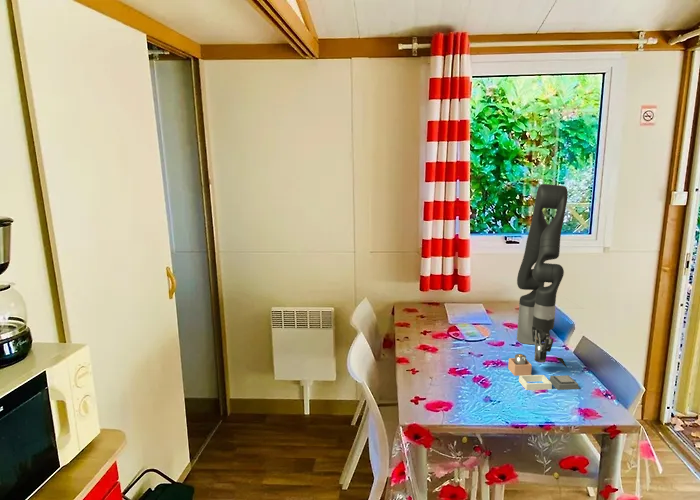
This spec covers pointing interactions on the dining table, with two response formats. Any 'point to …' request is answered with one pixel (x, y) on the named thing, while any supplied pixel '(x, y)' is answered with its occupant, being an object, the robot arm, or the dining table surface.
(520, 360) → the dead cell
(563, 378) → the plate
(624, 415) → the dining table surface
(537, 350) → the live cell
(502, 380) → the dining table surface
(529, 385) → the trough
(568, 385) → the grey square pedestal
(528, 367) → the tan open box
